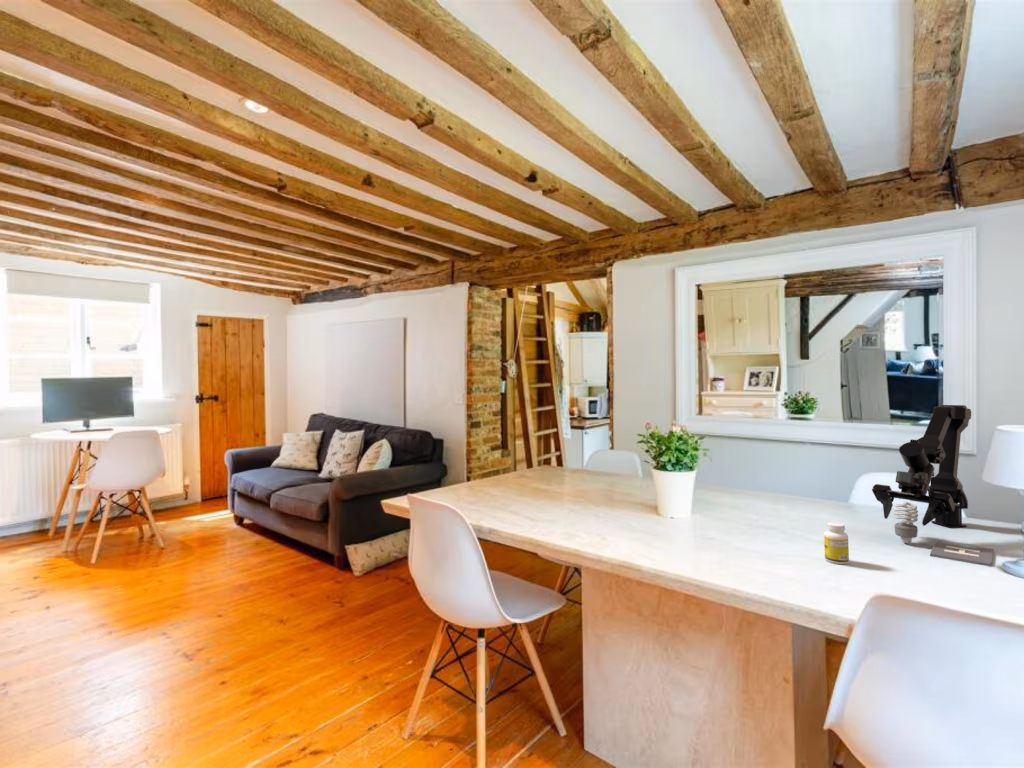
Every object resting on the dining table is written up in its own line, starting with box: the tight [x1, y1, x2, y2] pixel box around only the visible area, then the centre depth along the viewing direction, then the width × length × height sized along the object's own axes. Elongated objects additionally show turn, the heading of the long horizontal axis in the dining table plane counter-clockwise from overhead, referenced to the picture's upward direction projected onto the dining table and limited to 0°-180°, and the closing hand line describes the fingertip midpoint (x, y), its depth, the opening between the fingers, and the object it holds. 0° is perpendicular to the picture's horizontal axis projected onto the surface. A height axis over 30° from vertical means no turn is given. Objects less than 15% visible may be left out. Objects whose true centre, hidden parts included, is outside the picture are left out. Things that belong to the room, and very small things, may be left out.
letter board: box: [929, 539, 994, 567], centre depth 140 cm, size 16×12×1 cm
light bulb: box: [893, 501, 919, 545], centre depth 149 cm, size 6×6×12 cm
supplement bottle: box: [823, 521, 850, 565], centre depth 136 cm, size 5×5×10 cm
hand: (903, 521), depth 148 cm, fingers open, 9 cm apart
